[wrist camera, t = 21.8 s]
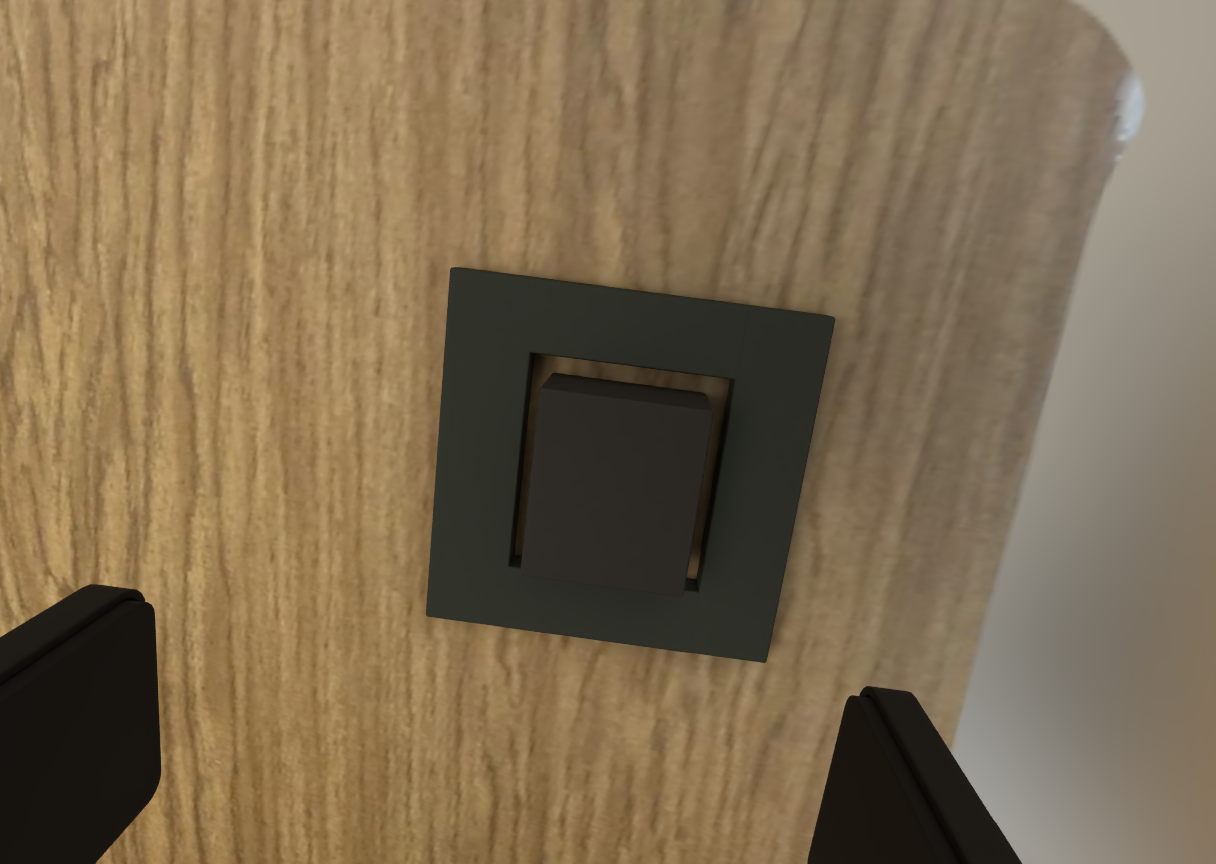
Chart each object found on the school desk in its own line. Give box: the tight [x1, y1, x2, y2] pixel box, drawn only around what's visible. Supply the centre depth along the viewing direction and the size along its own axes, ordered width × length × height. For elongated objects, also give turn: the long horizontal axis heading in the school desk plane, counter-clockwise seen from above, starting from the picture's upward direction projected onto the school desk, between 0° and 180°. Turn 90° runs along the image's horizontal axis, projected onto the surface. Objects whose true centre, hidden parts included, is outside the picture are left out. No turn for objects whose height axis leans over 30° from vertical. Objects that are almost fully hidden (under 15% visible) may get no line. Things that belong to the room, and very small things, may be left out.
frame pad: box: [426, 267, 835, 663], centre depth 27 cm, size 14×14×1 cm
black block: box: [520, 373, 714, 597], centre depth 26 cm, size 7×6×4 cm
